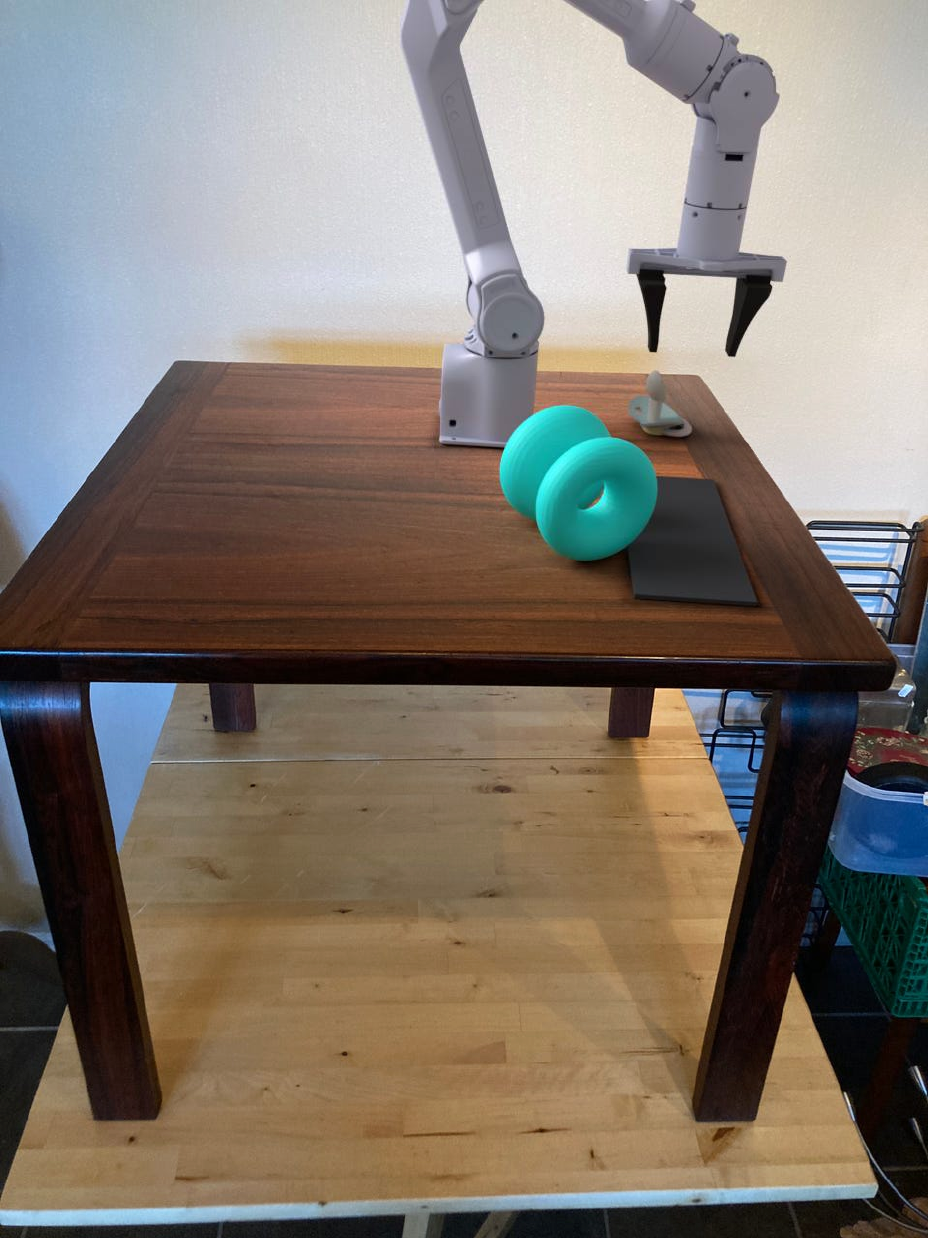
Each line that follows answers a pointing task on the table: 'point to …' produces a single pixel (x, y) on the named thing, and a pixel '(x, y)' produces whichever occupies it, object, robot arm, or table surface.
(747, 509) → the table surface
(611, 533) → the donuts
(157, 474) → the table surface
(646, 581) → the placemat
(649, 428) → the pacifier
